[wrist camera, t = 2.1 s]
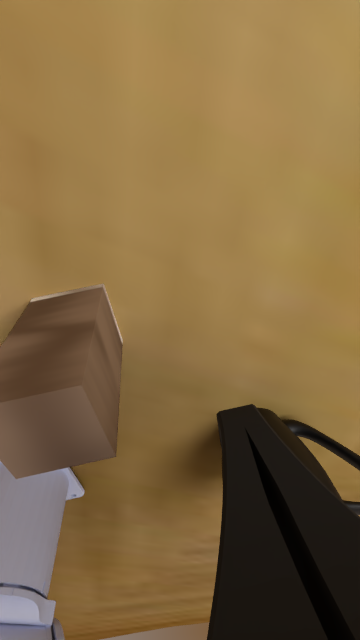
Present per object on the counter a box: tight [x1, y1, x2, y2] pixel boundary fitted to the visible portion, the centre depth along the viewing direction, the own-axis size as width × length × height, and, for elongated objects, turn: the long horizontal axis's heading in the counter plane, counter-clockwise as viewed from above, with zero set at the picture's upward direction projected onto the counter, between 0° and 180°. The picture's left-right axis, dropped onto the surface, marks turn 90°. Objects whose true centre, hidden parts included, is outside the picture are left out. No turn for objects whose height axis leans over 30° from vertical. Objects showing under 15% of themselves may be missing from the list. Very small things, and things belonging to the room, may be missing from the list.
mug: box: [222, 408, 360, 515], centre depth 24 cm, size 8×12×10 cm
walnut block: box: [0, 284, 123, 479], centre depth 16 cm, size 4×4×9 cm
